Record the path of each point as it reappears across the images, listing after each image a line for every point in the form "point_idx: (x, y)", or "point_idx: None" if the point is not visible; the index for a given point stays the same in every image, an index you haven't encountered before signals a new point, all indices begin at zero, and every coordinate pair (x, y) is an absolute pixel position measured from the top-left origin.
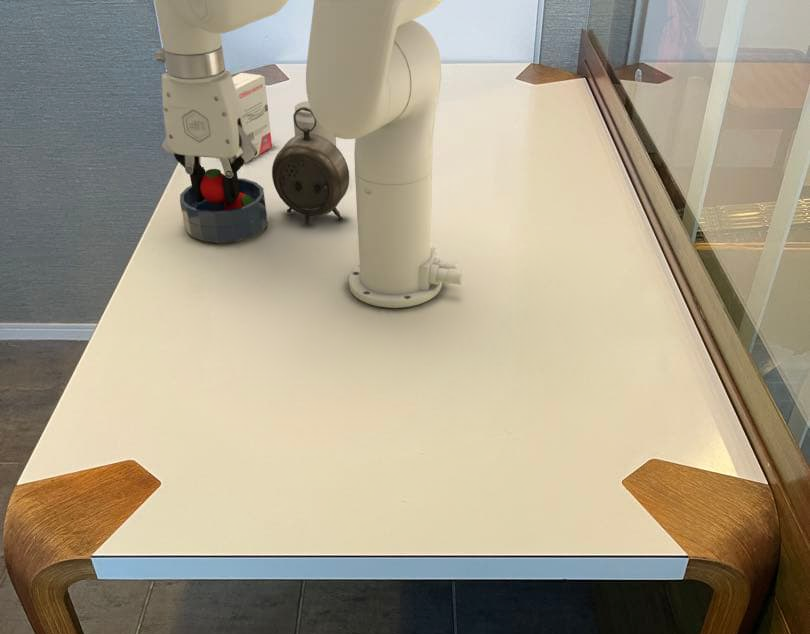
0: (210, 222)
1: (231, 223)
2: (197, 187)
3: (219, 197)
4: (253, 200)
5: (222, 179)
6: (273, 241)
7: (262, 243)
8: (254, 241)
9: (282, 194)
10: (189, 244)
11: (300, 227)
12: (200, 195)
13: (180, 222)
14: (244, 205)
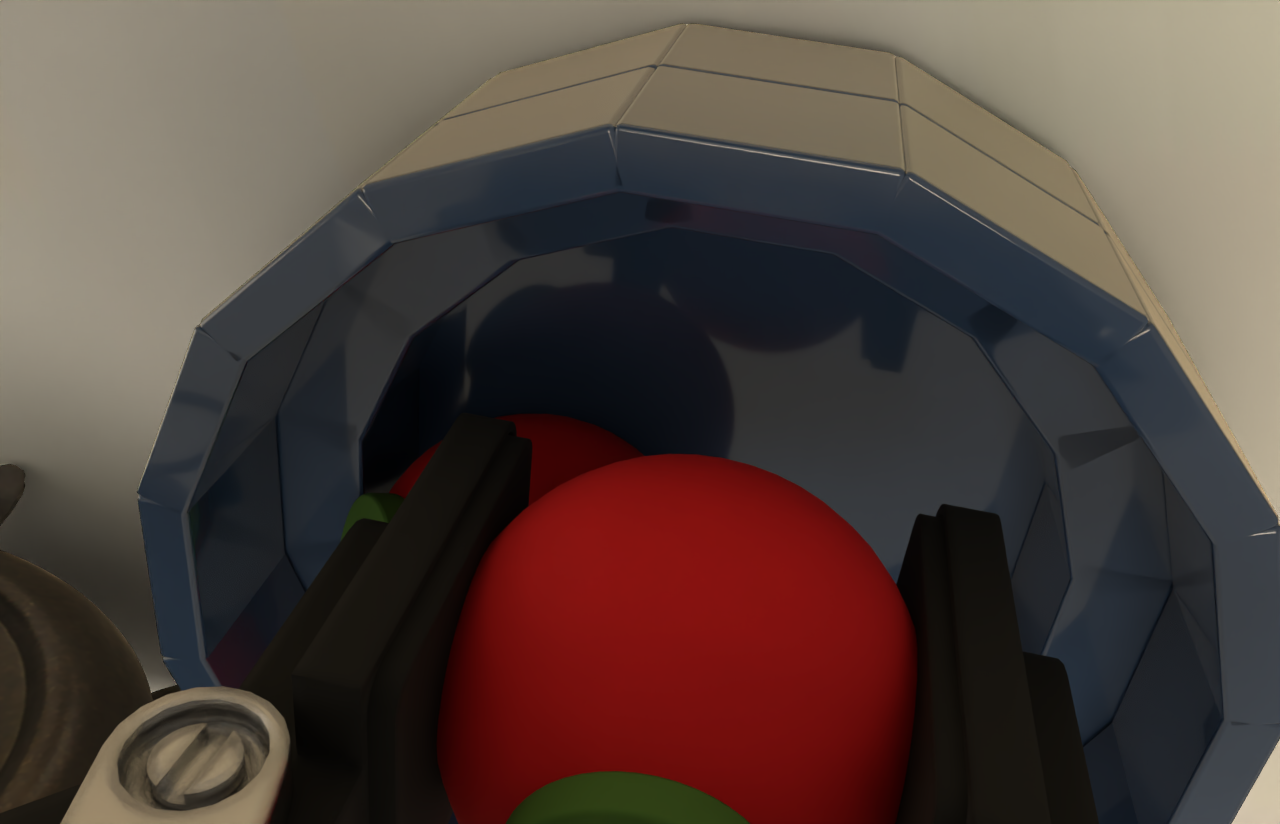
0: (730, 93)
1: (445, 127)
2: (954, 657)
3: (577, 476)
4: None
5: (397, 690)
6: (169, 169)
7: (256, 119)
8: (353, 160)
9: (61, 706)
10: (1092, 44)
11: (63, 444)
12: (921, 571)
13: None
14: (384, 517)
